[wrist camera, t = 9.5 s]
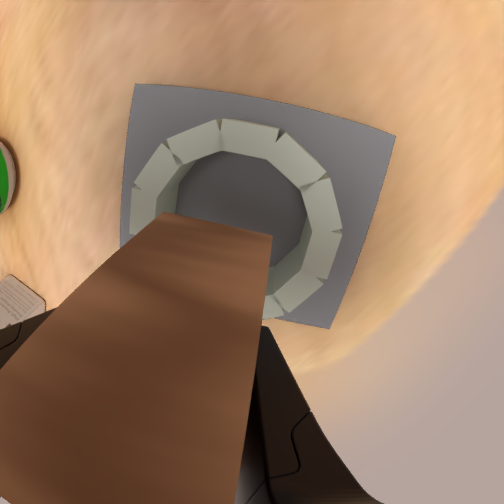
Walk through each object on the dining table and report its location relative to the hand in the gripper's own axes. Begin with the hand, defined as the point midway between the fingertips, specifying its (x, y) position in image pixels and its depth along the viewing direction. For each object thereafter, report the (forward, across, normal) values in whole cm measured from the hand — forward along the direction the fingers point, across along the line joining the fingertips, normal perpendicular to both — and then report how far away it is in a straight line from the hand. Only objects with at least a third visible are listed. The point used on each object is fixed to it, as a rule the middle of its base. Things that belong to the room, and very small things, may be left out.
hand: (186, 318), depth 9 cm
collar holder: (+12, 0, 0) cm, 12 cm away
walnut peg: (+3, 0, 0) cm, 3 cm away
